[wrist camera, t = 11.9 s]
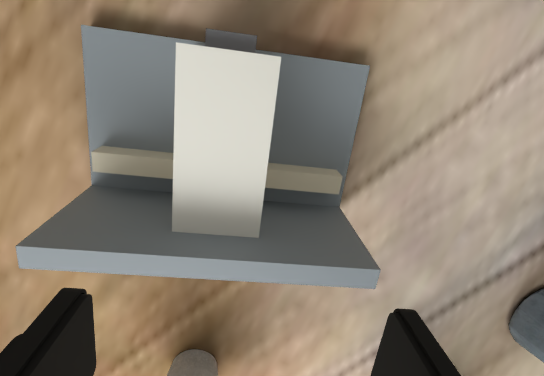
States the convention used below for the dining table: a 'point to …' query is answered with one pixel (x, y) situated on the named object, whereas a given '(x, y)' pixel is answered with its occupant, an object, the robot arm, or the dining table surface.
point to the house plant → (194, 364)
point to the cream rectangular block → (222, 134)
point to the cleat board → (147, 201)
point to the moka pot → (530, 324)
